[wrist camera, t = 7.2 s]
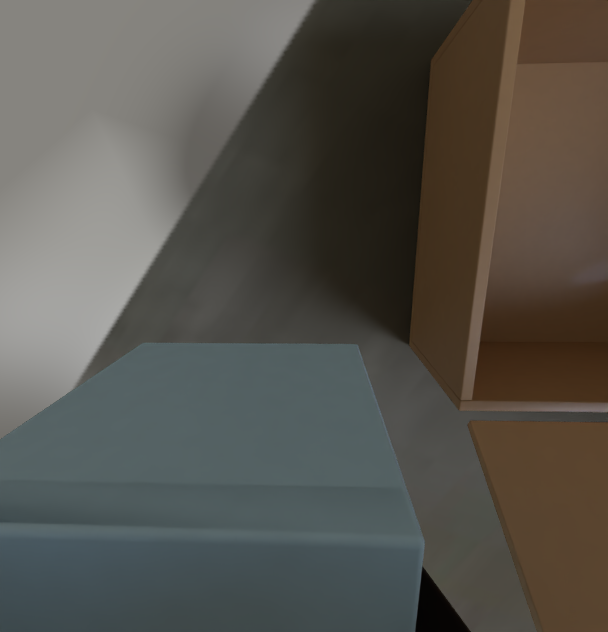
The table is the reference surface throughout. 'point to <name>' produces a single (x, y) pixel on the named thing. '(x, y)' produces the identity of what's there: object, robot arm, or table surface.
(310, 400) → the case
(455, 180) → the carton
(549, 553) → the flap
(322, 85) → the table surface
